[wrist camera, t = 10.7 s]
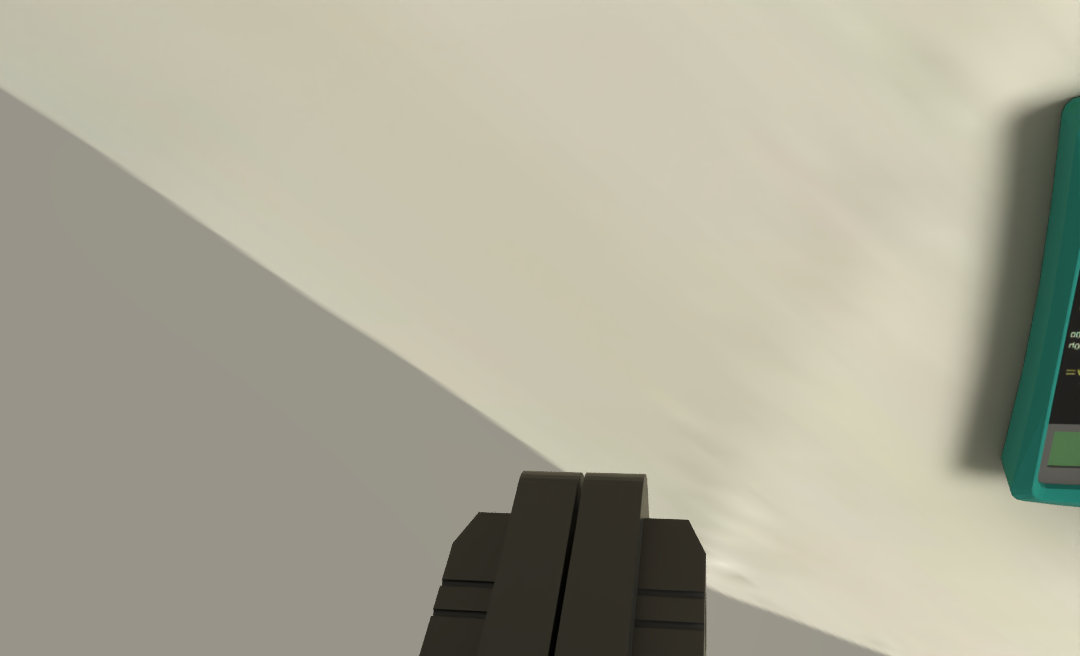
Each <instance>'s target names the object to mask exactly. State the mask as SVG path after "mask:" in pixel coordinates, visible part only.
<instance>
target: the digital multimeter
mask: <svg viewBox="0 0 1080 656" xmlns="http://www.w3.org/2000/svg"><path fill="white" fill-rule="evenodd" d="M1079 272H1080V97H1076V98H1074V99H1072V100H1071V101H1070V102H1069V103H1067V104H1066V105H1065V108H1064V110H1063V112H1062V116H1061V124H1060V133H1059V142H1058V150H1057V159H1056V168H1055V176H1054V185H1053V194H1052V201H1051V208H1050V215H1049V222H1048V229H1047V236H1046V243H1045V250H1044V257H1043V263H1042V270H1041V277H1040V284H1039V290H1038V295H1037V301H1036V306H1035V311H1034V316H1033V321H1032V326H1031V331H1030V336H1029V341H1028V346H1027V351H1026V356H1025V361H1024V366H1023V371H1022V375H1021V379H1020V384H1019V388H1018V392H1017V396H1016V400H1015V404H1014V408H1013V412H1012V416H1011V420H1010V424H1009V429H1008V433H1007V437H1006V441H1005V445H1004V449H1003V453H1002V457H1001V459H1002V464H1003V467H1004V471H1005V474H1006V477H1007V481H1008V484H1009V487H1010V491H1011V494H1012V496H1014V497H1015V498H1016V499H1018V500H1022V501H1029V502H1037V503H1046V504H1055V505H1063V506H1074V507H1080V273H1079ZM1078 277H1079V278H1078ZM1077 282H1078V283H1077ZM1076 287H1077V288H1076ZM1075 292H1076V293H1075ZM1074 297H1075V298H1074ZM1073 302H1074V303H1073ZM1072 306H1073V308H1072ZM1071 311H1072V313H1071ZM1070 316H1071V317H1070ZM1069 321H1070V322H1069ZM1068 326H1069V327H1068ZM1067 331H1068V332H1067ZM1066 336H1067V337H1066ZM1065 341H1066V342H1065ZM1064 346H1065V347H1064ZM1063 351H1064V352H1063ZM1062 356H1063V357H1062ZM1061 361H1062V362H1061ZM1060 365H1061V367H1060ZM1059 370H1060V371H1059ZM1058 375H1059V376H1058ZM1057 380H1058V381H1057ZM1056 385H1057V386H1056ZM1055 390H1056V391H1055ZM1054 395H1055V396H1054ZM1053 400H1054V401H1053ZM1052 405H1053V406H1052ZM1051 410H1052V411H1051ZM1050 415H1051V416H1050Z"/></svg>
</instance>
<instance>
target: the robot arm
mask: <svg viewBox="0 0 1080 656" xmlns="http://www.w3.org/2000/svg"><path fill="white" fill-rule="evenodd" d="M433 609H434V613H433V616H431V618H430V622H429V625H428V628H427V632H426V635H425V639H424V642H423V645H422V648H421V652H420V655H419V656H706V553H705V551H704V549H703V547H702V545H701V543H700V541H699V539H698V538H697V536H696V534H695V532H694V530H693V528H692V526H691V524H690V522H689V520H679V519H652V518H649V507H648V487H647V477H646V474H619V473H586V474H585V477H584V475H583V473H576V472H541V471H523V472H522V474H521V476H520V479H519V483H518V487H517V492H516V495H515V499H514V504H513V507H512V512H511V513H486V512H485V513H484V512H479V513H478V514H477V515H476V516H475V518H474V519H473V520H472V521H471V522H470V523H469V525H468V526H467V527H466V528H465V529H464V531H463V532H462V533H461V534H460V535H459V536H458V538H457V539H456V540H455V541H454V542H453V544H452V548H451V551H450V554H449V558H448V561H447V565H446V568H445V572H444V575H443V578H442V586H440V588H439V591H438V595H437V598H436V602H435V605H434V608H433Z"/></svg>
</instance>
